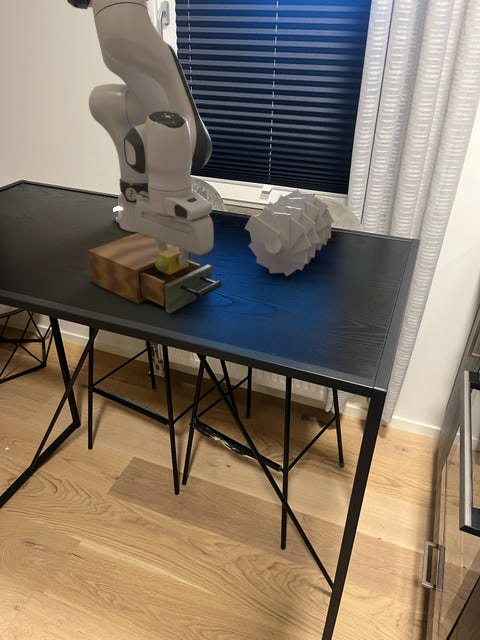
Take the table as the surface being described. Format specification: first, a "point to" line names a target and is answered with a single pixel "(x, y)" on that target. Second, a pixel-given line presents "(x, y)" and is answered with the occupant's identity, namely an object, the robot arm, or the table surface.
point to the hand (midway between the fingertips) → (173, 261)
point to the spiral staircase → (289, 232)
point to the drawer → (177, 285)
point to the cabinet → (123, 264)
